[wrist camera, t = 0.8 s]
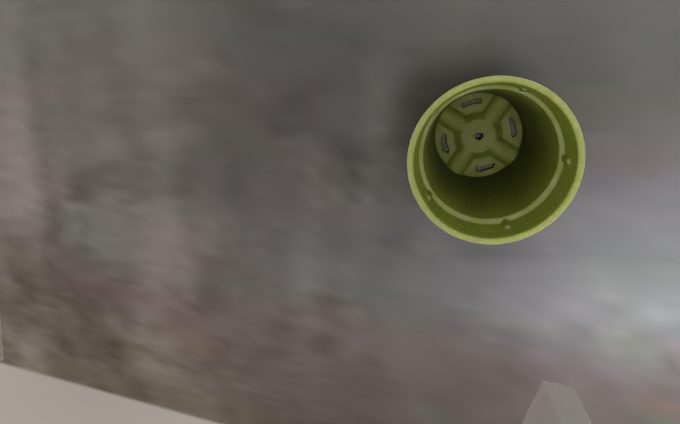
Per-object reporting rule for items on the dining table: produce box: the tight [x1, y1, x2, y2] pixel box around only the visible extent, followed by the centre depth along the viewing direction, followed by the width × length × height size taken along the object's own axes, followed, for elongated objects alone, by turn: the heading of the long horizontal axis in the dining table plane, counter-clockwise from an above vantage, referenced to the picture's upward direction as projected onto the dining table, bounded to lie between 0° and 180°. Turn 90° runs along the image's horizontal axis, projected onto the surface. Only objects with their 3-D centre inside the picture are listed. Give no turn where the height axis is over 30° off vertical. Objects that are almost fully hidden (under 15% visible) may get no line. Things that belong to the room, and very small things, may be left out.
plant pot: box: [407, 75, 586, 245], centre depth 32 cm, size 9×9×9 cm
